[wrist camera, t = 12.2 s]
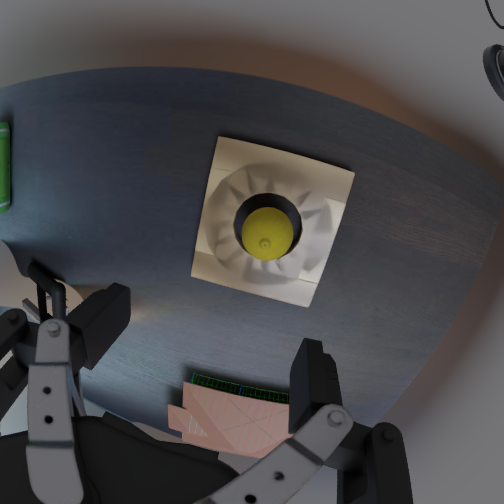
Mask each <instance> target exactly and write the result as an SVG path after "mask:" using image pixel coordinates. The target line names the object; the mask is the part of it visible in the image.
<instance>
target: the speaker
mask: <svg viewBox="0 0 504 504" xmlns="http://www.w3.org/2000/svg"><path fill="white" fill-rule="evenodd" d="M9 205H10V132H9V124H8V123H7V122H0V214H1V213H3V212H6V211H8V210H9Z"/></svg>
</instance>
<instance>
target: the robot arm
mask: <svg viewBox="0 0 504 504" xmlns="http://www.w3.org/2000/svg"><path fill="white" fill-rule="evenodd" d="M485 3H486V6H487V8H488V11H489V14H490V16H491V17H492V19H493V21H494V22H495V23H496V25H497V26H498V27H499V28H501V29H504V26H501V25H499V24H498V22H497V21H496V20H495V18H494V17H493V14H492V12H491V9H490V7H489V3H488V1H487V0H485ZM495 64H496V68H497V71H498V74H499V76H500V79H501V81H502V82H503V84H504V46H502V47H500V50H499V51H497V52H496V54H495ZM130 316H131V303H130V288H129V287H126V286H124V285H121V284H118V283H113V284H111V285H110V286H109V287H108V288H107V289H106V290H104V289H101V290H99V291H96V292H94V293H92V294H91V295H90V296H89V297H87V299H85V300H84V301H83V302H82V303H81V304H79V305H78V306H77V307H76V308H75V309H73V310H72V311H71V312H70V313H69V314H68V315H67V316H65V317H64V318H63V319H62V320H61V319H57V318H53V319H48V320H46V321H44V322H43V323H42V324H37V323H33V322H29V321H28V319H27V316H26V313H25V312H24V311H23V310H21V309H10V310H7V311H6V312H4V313H3V314H2V315H1V316H0V360H1V359H2V358H3V357H4V356H5V355H6V354H7V353H8V352H9V351H10V350H11V351H12V353H13V356H12V357H11V358H10V359H9V360H8V361H7V362H6V363H5V365H4V366H3V367H2V368H1V369H0V421H1V420H2V418H3V417H4V415H5V414H6V413H7V411H8V410H9V408H10V407H11V406H12V404H13V403H14V402H15V400H16V399H17V398H18V396H19V395H20V394H21V392H22V391H23V389H24V388H25V387H26V386H27V384H28V396H27V397H28V398H27V401H28V402H27V414H28V430H27V431H23V432H18V433H14V434H9V435H4V436H1V433H0V504H285V503H287V502H288V501H289V500H290V499H291V498H292V497H293V496H294V495H295V494H296V493H297V492H298V491H299V490H300V489H301V488H302V487H303V486H304V485H305V484H306V483H307V482H308V481H309V480H310V479H311V478H312V477H313V476H314V474H315V473H316V472H317V471H318V470H319V469H320V468H321V467H322V465H325V466H328V467H331V468H334V469H337V472H338V473H337V504H413V498H412V489H411V482H410V475H409V469H408V463H407V458H406V453H405V447H404V443H403V437H402V434H401V432H400V430H399V429H398V428H397V427H396V426H394V425H393V424H391V423H387V422H383V423H378V424H377V425H376V426H374V427H373V428H370V427H367V426H364V425H361V424H358V423H356V422H354V421H353V418H352V415H351V414H350V412H349V411H348V410H347V409H345V408H344V407H343V404H342V398H341V392H340V386H339V381H338V374H337V368H336V363H335V361H334V360H333V358H332V357H331V355H330V354H326V353H323V346H322V342H321V341H318V340H313V339H309V338H304V339H303V341H302V343H301V345H300V348H299V350H298V352H297V354H296V357H295V359H294V361H293V363H292V366H291V371H290V391H289V423H288V434H293V436H291V437H290V438H287V439H285V440H284V441H283V442H281V443H280V444H279V445H278V446H277V447H275V448H274V449H273V450H272V451H271V452H269V453H268V454H267V455H266V456H264V457H263V458H262V459H261V460H259V461H258V462H257V463H255V464H254V465H253V466H252V467H250V468H249V469H248V470H246V471H245V472H244V473H242V474H241V475H240V474H239V473H238V472H236V470H234V469H233V468H232V467H230V466H229V465H227V464H226V463H224V462H222V461H220V460H218V455H219V452H216V451H212V450H208V449H204V448H200V447H197V446H194V445H190V444H182V443H172V442H165V441H159V440H156V439H154V438H152V437H151V436H149V435H147V434H146V433H145V432H143V431H142V430H140V429H139V428H137V427H136V426H135V425H133V424H132V423H130V422H128V421H126V420H123V419H121V418H119V417H117V416H115V415H113V414H111V413H109V412H107V411H106V412H105V413H104V415H103V417H97V416H87V415H86V411H85V407H84V402H83V394H82V385H81V376H80V371H79V370H80V369H81V368H82V367H83V366H84V367H85V368H87V369H89V370H92V369H93V368H94V366H95V365H96V364H97V363H98V361H99V360H100V359H101V358H102V356H103V355H104V354H105V353H106V351H107V350H108V349H109V348H110V346H111V345H112V344H113V343H114V342H115V340H116V339H117V338H118V337H119V335H120V334H121V333H122V332H123V331H124V329H125V328H126V327H127V325H128V323H129V321H130Z"/></svg>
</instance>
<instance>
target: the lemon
mask: <svg viewBox="0 0 504 504" xmlns="http://www.w3.org/2000/svg"><path fill="white" fill-rule="evenodd" d="M292 240H293V227H292V224H291V222H290V220H289V218H288V217H287V216H286V215H285V214H284V213H283V212H282V211H280V210H278V209H276V208H271V207H265V208H260V209H257V210H255V211H254V212H252V213H251V214H250V215H249V216H248V217H247V219H246V220H245V222H244V224H243V227H242V241H243V244H244V247H245V248H246V250H247V251H248V253H249V254H251V255H252V256H253V257H255V258H257V259H259V260H263V261H271V260H275V259H277V258H279V257H281V256H282V255H284V254H285V253H286V252H287V250H288V249H289V247H290V246H291V243H292Z"/></svg>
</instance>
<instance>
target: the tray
mask: <svg viewBox="0 0 504 504" xmlns="http://www.w3.org/2000/svg"><path fill="white" fill-rule="evenodd" d="M354 175H355V173H354V172H351V171H348V170H345V169H342V168H339V167H336V166H333V165H330V164H327V163H323V162H320V161H317V160H314V159H310V158H307V157H303V156H300V155H296V154H293V153H289V152H286V151H282V150H278V149H274V148H270V147H266V146H262V145H258V144H253V143H249V142H245V141H240V140H235V139H231V138H226V137H221V136H219V137H218V141H217V145H216V149H215V153H214V158H213V162H212V167H211V171H210V176H209V180H208V185H207V190H206V195H205V200H204V205H203V210H202V215H201V220H200V225H199V231H198V236H197V242H196V248H195V254H194V260H193V266H192V272H191V276H193V277H196V278H199V279H203V280H206V281H210V282H213V283H217V284H220V285H224V286H227V287H231V288H234V289H238V290H242V291H245V292H249V293H253V294H256V295H260V296H264V297H268V298H271V299H275V300H279V301H283V302H287V303H291V304H295V305H299V306H303V307H307V308H309V306H310V303H311V301H312V298H313V296H314V293H315V291H316V288H317V285H318V283H319V280H320V278H321V275H322V272H323V270H324V267H325V264H326V262H327V259H328V256H329V253H330V250H331V247H332V245H333V242H334V239H335V236H336V233H337V230H338V227H339V224H340V221H341V218H342V215H343V212H344V208H345V205H346V202H347V199H348V196H349V192H350V189H351V186H352V182H353V179H354ZM262 193H273V194H277V195H281V196H284V197H285V198H286V199H288V200H289V201H290V202H292V203H293V204H294V205H295V207H296V208H297V210H298V212H299V214H300V216H301V224H302V228H301V231H300V235H299V238H298V240H297V241H296V242H295V243H294V245H293V246H292V247H291V248H290V249H288V250H287V252H286V253H285V254H284V255H282V256H281V257H279V258H277V259H275V260H271V261H263V260H259V259H257V258H255V257H253V256H252V255H251V254H249V253H248V251H247V250H246V248H245V247H244V244H243V243H242V241H241V239H240V238H239V236H238V235H237V230H236V224H235V220H236V216H237V212H238V209H239V208H240V206H241V205H242V204H243V202H244V201H245V200H247V199H249V198H250V197H252V196H254V195H255V194H262Z"/></svg>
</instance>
